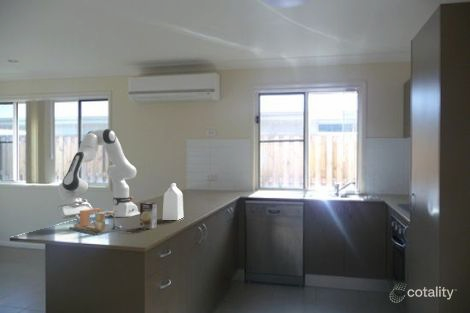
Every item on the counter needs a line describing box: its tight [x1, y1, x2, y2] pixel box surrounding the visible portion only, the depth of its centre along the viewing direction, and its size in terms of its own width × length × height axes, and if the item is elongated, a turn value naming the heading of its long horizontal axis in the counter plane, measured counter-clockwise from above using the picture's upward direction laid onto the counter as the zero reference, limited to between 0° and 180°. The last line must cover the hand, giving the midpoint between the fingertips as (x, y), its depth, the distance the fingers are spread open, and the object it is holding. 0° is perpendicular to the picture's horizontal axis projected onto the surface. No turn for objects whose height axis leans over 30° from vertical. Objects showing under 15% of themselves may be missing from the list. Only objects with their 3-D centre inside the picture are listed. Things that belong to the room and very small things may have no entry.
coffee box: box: [139, 201, 158, 230], centre depth 225 cm, size 9×6×16 cm
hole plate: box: [68, 220, 126, 236], centre depth 219 cm, size 20×28×2 cm
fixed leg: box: [73, 210, 116, 232], centre depth 217 cm, size 13×26×11 cm, turn 57°
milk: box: [162, 182, 185, 221], centre depth 254 cm, size 12×12×26 cm
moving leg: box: [79, 207, 102, 226], centre depth 220 cm, size 13×4×10 cm, turn 147°
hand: (82, 221), depth 217 cm, fingers closed, pressing on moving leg
